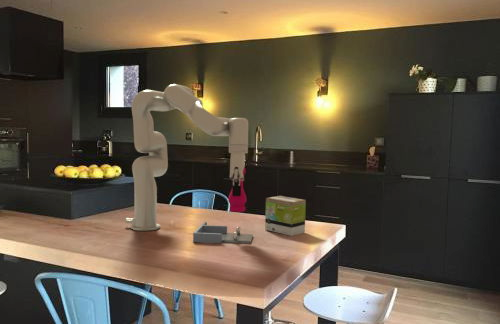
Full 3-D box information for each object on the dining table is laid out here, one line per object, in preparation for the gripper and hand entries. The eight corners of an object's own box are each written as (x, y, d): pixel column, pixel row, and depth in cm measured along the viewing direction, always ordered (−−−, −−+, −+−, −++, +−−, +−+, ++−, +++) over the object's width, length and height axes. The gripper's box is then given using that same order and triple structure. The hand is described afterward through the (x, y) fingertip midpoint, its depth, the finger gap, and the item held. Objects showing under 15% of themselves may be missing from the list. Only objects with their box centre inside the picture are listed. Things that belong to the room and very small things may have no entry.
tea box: (264, 230, 197) (264, 197, 196) (278, 227, 204) (279, 195, 203) (291, 236, 187) (292, 201, 186) (305, 232, 194) (306, 199, 193)
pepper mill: (244, 212, 174) (245, 161, 173) (226, 211, 176) (227, 160, 174) (248, 209, 181) (248, 160, 180) (230, 208, 183) (231, 159, 181)
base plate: (219, 242, 174) (219, 232, 173) (224, 235, 186) (224, 225, 185) (250, 243, 173) (250, 233, 172) (252, 236, 185) (253, 227, 184)
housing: (193, 242, 173) (193, 233, 173) (204, 229, 196) (204, 221, 195) (221, 243, 172) (221, 234, 172) (229, 230, 195) (229, 222, 195)
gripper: (231, 148, 186) (231, 191, 187) (225, 149, 169) (225, 197, 170) (249, 148, 185) (248, 192, 186) (245, 150, 168) (244, 198, 169)
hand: (237, 194), depth 178 cm, fingers closed on pepper mill, 5 cm apart
